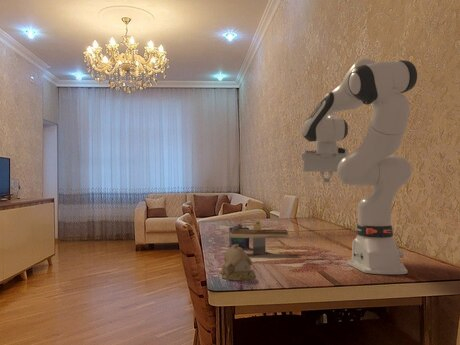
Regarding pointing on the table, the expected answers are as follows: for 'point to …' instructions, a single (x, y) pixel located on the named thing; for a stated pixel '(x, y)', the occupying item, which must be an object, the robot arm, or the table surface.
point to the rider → (257, 226)
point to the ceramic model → (237, 264)
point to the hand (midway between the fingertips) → (326, 182)
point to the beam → (258, 237)
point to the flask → (240, 241)
